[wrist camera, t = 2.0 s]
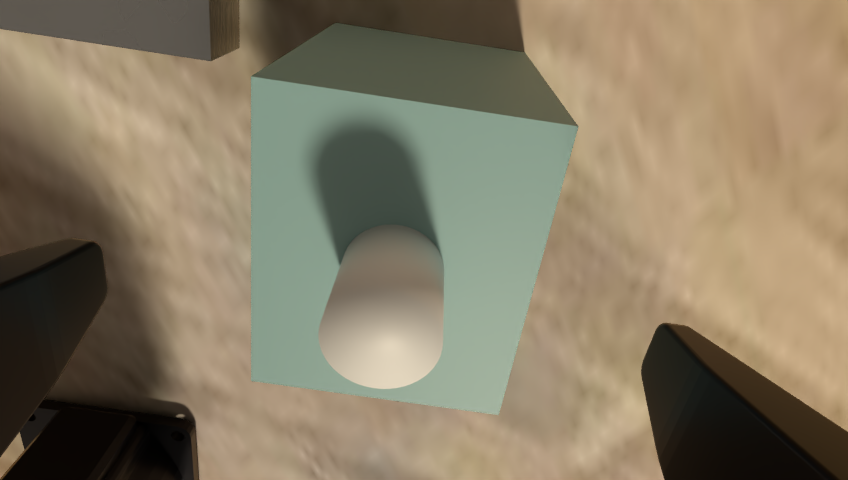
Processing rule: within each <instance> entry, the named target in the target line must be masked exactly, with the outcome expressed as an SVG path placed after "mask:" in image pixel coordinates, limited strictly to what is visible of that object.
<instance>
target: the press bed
mask: <svg viewBox="0 0 848 480" xmlns="http://www.w3.org/2000/svg"><path fill="white" fill-rule="evenodd" d="M0 29H5V30H11V31H18V32H24V33H31V34H37V35H44V36H50V37H57V38H63V39H70V40H76V41H83V42H89V43H96V44H102V45H109V46H115V47H122V48H128V49H135V50H141V51H148V52H154V53H161V54H167V55H174V56H180V57H187V58H193V59H200V60H206V61H212V60H215V59H217V58H219V57H221V56H223V55H225V54H227V53H230V52H232V51H234V50H236V49H238V48H239V0H0Z"/></svg>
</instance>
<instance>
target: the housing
mask: <svg viewBox="0 0 848 480" xmlns="http://www.w3.org/2000/svg"><path fill="white" fill-rule="evenodd" d="M577 130H578V125H577V124H576V122H575V121H574V120H573V118H572V117H571V116H570V114H569V113H568V111H567V110H566V109H565V107H564V106H563V105H562V103H561V102H560V100H559V99H558V98H557V96H556V95H555V93H554V92H553V91H552V89H551V88H550V87H549V85H548V84H547V82H546V81H545V80H544V78H543V77H542V76H541V74H540V73H539V71H538V70H537V69H536V67H535V66H534V64H533V63H532V62H531V60H530V59H529V58H528V56H527V55H526V53H525V52H519V51H513V50H507V49H500V48H494V47H487V46H481V45H475V44H468V43H462V42H455V41H449V40H443V39H436V38H430V37H423V36H417V35H411V34H404V33H398V32H392V31H385V30H379V29H372V28H366V27H360V26H353V25H347V24H340V23H334V24H333V25H331V26H330V27H328V28H326V29H325V30H323V31H322V32H320V33H319V34H317V35H315V36H314V37H312V38H311V39H309V40H308V41H306V42H304V43H303V44H301V45H300V46H298V47H297V48H295V49H293V50H292V51H290V52H289V53H287V54H286V55H284V56H282V57H281V58H279V59H278V60H276V61H275V62H273V63H271V64H270V65H268V66H267V67H265V68H263V69H262V70H260V71H259V72H257V73H256V74H254V75H252V76H251V381H255V382H263V383H270V384H277V385H285V386H292V387H299V388H306V389H314V390H321V391H328V392H335V393H343V394H350V395H357V396H364V397H372V398H379V399H386V400H393V401H401V402H408V403H415V404H422V405H430V406H437V407H444V408H451V409H459V410H466V411H473V412H480V413H488V414H495V415H499V412H500V408H501V405H502V401H503V398H504V394H505V390H506V387H507V383H508V380H509V376H510V372H511V369H512V365H513V361H514V358H515V354H516V351H517V347H518V343H519V340H520V336H521V332H522V329H523V325H524V322H525V318H526V314H527V311H528V307H529V304H530V300H531V296H532V293H533V289H534V285H535V282H536V278H537V275H538V271H539V267H540V264H541V260H542V256H543V253H544V249H545V246H546V242H547V238H548V235H549V231H550V228H551V224H552V220H553V217H554V213H555V209H556V206H557V202H558V199H559V195H560V191H561V188H562V184H563V181H564V177H565V173H566V170H567V166H568V162H569V159H570V155H571V152H572V148H573V144H574V141H575V137H576V133H577Z"/></svg>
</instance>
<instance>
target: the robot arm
mask: <svg viewBox="0 0 848 480" xmlns="http://www.w3.org/2000/svg"><path fill="white" fill-rule="evenodd" d="M107 290H108V285H107V277H106V270H105V263H104V255H103V250H102V247H101V245H100V244H98V243H97V242H96V241H91V240H84V239H77V238H68V239H64V240H60V241H57V242H53V243H49V244H45V245H42V246H38V247H34V248H30V249H27V250H23V251H19V252H16V253H12V254H8V255H4V256H1V257H0V457H1V456H2V454H3V453H4V452H5V450H6V449H7V448H8V446H9V445H10V444H11V442H12V441H13V440H14V438H15V437H16V436H17V434H18V433H19V432H20V434H21V438H22V442H23V446H24V449H25V450H24V451H23V453H22V454H21V455H20V456H19V457H18V459H17V460H16V461H15V462H14V463H13V464H12V466H11V467H10V468H9V469H8V470H7V471H6V473H5V474H4V475H3V476H2V477H1V479H0V480H199V478H198V462H197V447H196V431H195V427H194V425H193V424H192V423H191V422H189V421H187V420H185V419H181V418H174V417H166V416H159V415H152V414H144V413H137V412H129V411H122V410H115V409H107V408H100V407H93V406H85V405H78V404H71V403H63V402H56V401H48V400H43V399H44V398H45V397H46V395H47V394H48V393H49V391H50V390H51V388H52V387H53V386H54V384H55V383H56V381H57V380H58V379H59V377H60V375H61V374H62V372H63V371H64V369H65V368H66V366H67V364H68V363H69V361H70V359H71V357H72V356H73V354H74V352H75V351H76V349H77V347H78V346H79V344H80V342H81V340H82V339H83V337H84V335H85V334H86V332H87V330H88V328H89V327H90V325H91V323H92V322H93V320H94V318H95V317H96V315H97V313H98V311H99V310H100V308H101V306H102V305H103V303H104V301H105V298H106V296H107ZM641 375H642V381H643V386H644V391H645V396H646V401H647V406H648V411H649V416H650V421H651V426H652V431H653V436H654V441H655V446H656V450H657V455H658V459H659V463H660V466H661V469H662V473H663V476H664V479H665V480H848V432H847V431H846V430H844V429H843V428H841V427H840V426H838V425H837V424H835V423H834V422H832V421H831V420H829V419H827V418H826V417H824V416H823V415H821V414H820V413H818V412H817V411H815V410H814V409H812V408H811V407H809V406H808V405H806V404H805V403H803V402H802V401H800V400H799V399H797V398H796V397H794V396H793V395H791V394H790V393H788V392H787V391H785V390H784V389H782V388H781V387H779V386H778V385H776V384H775V383H773V382H772V381H770V380H769V379H767V378H765V377H764V376H762V375H761V374H759V373H758V372H756V371H755V370H753V369H752V368H750V367H749V366H747V365H746V364H744V363H743V362H741V361H740V360H738V359H737V358H735V357H734V356H732V355H731V354H729V353H728V352H726V351H725V350H723V349H722V348H720V347H719V346H717V345H716V344H714V343H713V342H711V341H710V340H708V339H707V338H705V337H703V336H702V335H700V334H699V333H697V332H696V331H694V330H693V329H691V328H690V327H688V326H685V325H678V324H671V323H663V324H661V325H659V326H658V327H657V329H656V331H655V333H654V336H653V338H652V341H651V343H650V345H649V348H648V350H647V353H646V355H645V357H644V360H643V363H642V369H641Z"/></svg>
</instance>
